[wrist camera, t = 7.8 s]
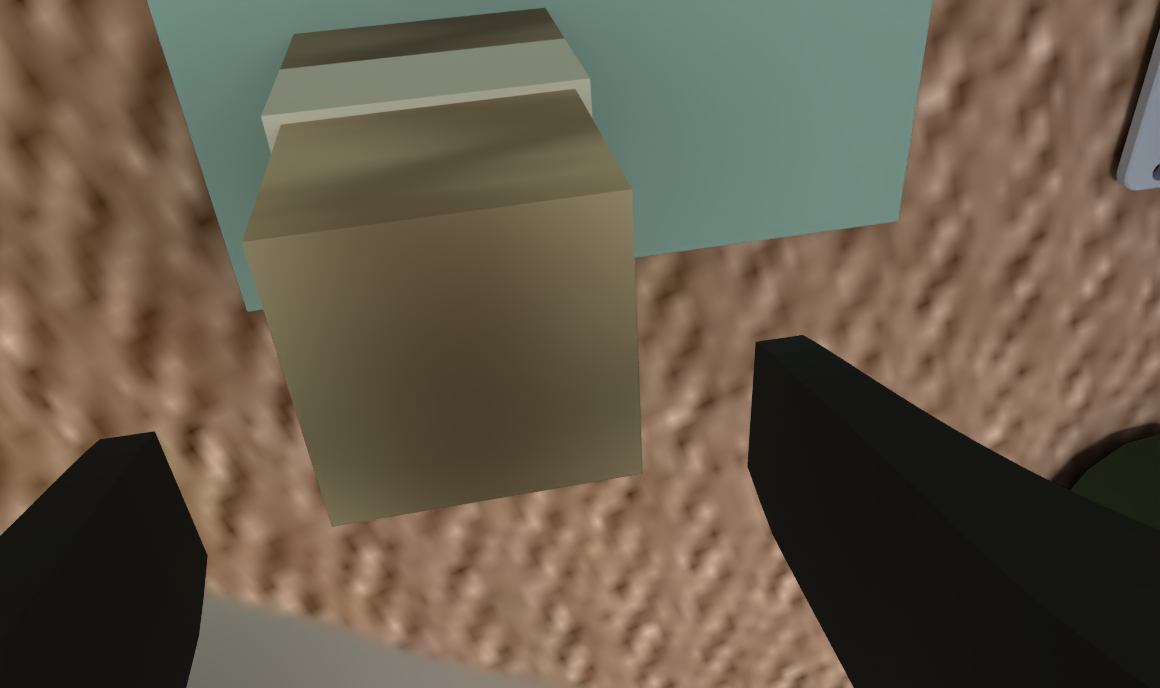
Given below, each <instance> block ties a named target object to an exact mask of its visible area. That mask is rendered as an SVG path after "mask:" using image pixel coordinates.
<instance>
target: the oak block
mask: <svg viewBox="0 0 1160 688" xmlns="http://www.w3.org/2000/svg"><path fill="white" fill-rule="evenodd" d="M242 244H243V247H244V251H245V254H246V257H247V260H248V263H249V266H250V269H251V273H252V276H253V279H254V282H255V285H256V288H257V292H258V295H259V298H260V301H261V304H262V307H263V310H264V314H265V317H266V320H267V323H268V326H269V329H270V333H271V336H272V339H273V342H274V345H275V348H276V351H277V355H278V358H279V361H280V364H281V367H282V370H283V374H284V377H285V380H286V383H287V386H288V389H289V392H290V396H291V399H292V402H293V405H294V408H295V411H296V415H297V418H298V421H299V424H300V427H301V430H302V434H303V437H304V440H305V443H306V446H307V449H308V452H309V456H310V459H311V462H312V465H313V468H314V471H315V475H316V478H317V481H318V484H319V487H320V490H321V493H322V497H323V500H324V503H325V506H326V509H327V512H328V516H329V519H330V522H331V525H332V527H334V526H339V525H345V524H351V523H357V522H363V521H369V520H374V519H380V518H386V517H392V516H398V515H404V514H409V513H415V512H421V511H427V510H433V509H439V508H444V507H450V506H456V505H462V504H468V503H474V502H479V501H485V500H491V499H497V498H503V497H509V496H514V495H520V494H526V493H532V492H538V491H544V490H549V489H555V488H561V487H567V486H573V485H579V484H584V483H590V482H596V481H602V480H608V479H614V478H619V477H625V476H631V475H637V474H643V471H642V443H641V415H640V387H639V359H638V331H637V303H636V275H635V246H634V218H633V190H632V188H631V186H630V184H629V182H628V181H627V179H626V177H625V175H624V173H623V172H622V170H621V168H620V166H619V165H618V163H617V161H616V159H615V158H614V156H613V154H612V152H611V151H610V149H609V147H608V145H607V144H606V142H605V140H604V138H603V137H602V135H601V133H600V131H599V129H598V128H597V126H596V124H595V122H594V121H593V119H592V117H591V115H590V114H589V112H588V110H587V108H586V107H585V105H584V103H583V101H582V100H581V98H580V96H579V94H578V92H577V91H576V89H568V90H560V91H552V92H544V93H536V94H527V95H519V96H511V97H503V98H494V99H486V100H478V101H470V102H461V103H453V104H445V105H437V106H429V107H420V108H412V109H404V110H396V111H387V112H379V113H371V114H363V115H355V116H346V117H338V118H330V119H322V120H313V121H305V122H297V123H289V124H281V126H280V129H279V132H278V135H277V138H276V141H275V144H274V147H273V150H272V153H271V156H270V159H269V162H268V165H267V168H266V171H265V174H264V177H263V180H262V183H261V186H260V189H259V192H258V195H257V198H256V201H255V204H254V207H253V210H252V213H251V216H250V219H249V222H248V225H247V228H246V231H245V234H244V237H243V240H242Z"/></svg>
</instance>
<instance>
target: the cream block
mask: <svg viewBox="0 0 1160 688" xmlns="http://www.w3.org/2000/svg"><path fill="white" fill-rule="evenodd" d="M568 89H576V91H577V92H578V94H579V96H580V98H581V100H582V101H583V103H584V105H585V107H586V108H587V110H588V112H589V114H590V115H591V117H592V102H591V84H590V77H589V76H588V74H587V73H586V71H585V69H584V68H583V66H582V65H581V63H580V62H579V60H578V58H577V57H576V55H575V54H574V52H573V51H572V49H571V47H570V46H569V44H568V43H567V41H566V40H565V38H563V39H554V40H545V41H536V42H527V43H517V44H508V45H499V46H490V47H481V48H472V49H463V50H454V51H444V52H435V53H426V54H417V55H408V56H399V57H390V58H380V59H371V60H362V61H353V62H344V63H335V64H326V65H317V66H307V67H298V68H289V69H280V70H279V73H278V75H277V78H276V80H275V83H274V85H273V88H272V90H271V93H270V95H269V98H268V100H267V102H266V105H265V107H264V110H263V112H262V115H261V118H262V122H263V126H264V129H265V133H266V137H267V140H268V144H269V148H270V151H271V153H272V150H273V147H274V144H275V141H276V138H277V135H278V132H279V129H280V126H281V124H289V123H297V122H305V121H313V120H322V119H330V118H338V117H346V116H355V115H363V114H371V113H379V112H387V111H396V110H404V109H412V108H420V107H429V106H437V105H445V104H453V103H461V102H470V101H478V100H486V99H494V98H503V97H511V96H519V95H527V94H536V93H544V92H552V91H560V90H568Z"/></svg>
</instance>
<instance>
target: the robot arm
mask: <svg viewBox="0 0 1160 688" xmlns="http://www.w3.org/2000/svg"><path fill="white" fill-rule="evenodd" d="M1159 164H1160V30H1159V33H1158V37H1157V40H1156V43H1155V47H1154V50H1153V53H1152V57H1151V60H1150V63H1149V67H1148V70H1147V73H1146V76H1145V80H1144V83H1143V86H1142V90H1141V93H1140V96H1139V100H1138V103H1137V106H1136V110H1135V113H1134V116H1133V120H1132V123H1131V126H1130V130H1129V133H1128V136H1127V140H1126V143H1125V146H1124V150H1123V153H1122V156H1121V160H1120V163H1119V166H1118V170H1117V180H1118V183H1120V184H1121V185H1123V186H1124V187H1126V188H1128V189H1130V190H1134V191H1139V190H1146V189H1153V188H1160V166H1159V167H1158V169H1157V170H1156V171H1155V172H1154V173H1153V171H1154V169H1155V167H1156V166H1157V165H1159ZM748 469H749V472H750V475H751V477H752V480H753V483H754V486H755V489H756V491H757V494H758V497H759V500H760V503H761V505H762V508H763V511H764V513H765V516H766V518H767V521H768V523H769V526H770V529H771V531H772V534H773V536H774V538H775V540H776V542H777V544H778V546H779V548H780V550H781V552H782V553H783V555H784V557H785V559H786V561H787V563H788V565H789V567H790V569H791V571H792V573H793V574H794V576H795V578H796V580H797V582H798V584H799V586H800V588H801V590H802V592H803V593H804V595H805V597H806V599H807V601H808V603H809V605H810V606H811V608H812V610H813V612H814V614H815V616H816V618H817V620H818V621H819V623H820V625H821V627H822V629H823V631H824V633H825V634H826V636H827V638H828V640H829V642H830V644H831V646H832V648H833V649H834V651H835V653H836V655H837V657H838V659H839V661H840V663H841V664H842V666H843V668H844V670H845V672H846V674H847V676H848V678H849V679H850V681H851V683H852V685H853V687H854V688H1160V530H1158V529H1156V528H1153V527H1151V526H1149V525H1146V524H1144V523H1141V522H1139V521H1137V520H1134V519H1132V518H1129V517H1127V516H1125V515H1122V514H1120V513H1118V512H1116V511H1113V510H1111V509H1109V508H1107V507H1105V506H1103V505H1100V504H1098V503H1096V502H1094V501H1092V500H1090V499H1087V498H1085V497H1083V496H1081V495H1079V494H1077V493H1074V492H1072V491H1070V490H1068V489H1066V488H1064V487H1061V486H1059V485H1057V484H1055V483H1053V482H1051V481H1049V480H1047V479H1045V478H1043V477H1041V476H1039V475H1037V474H1035V473H1033V472H1031V471H1029V470H1027V469H1025V468H1023V467H1021V466H1020V465H1018V464H1016V463H1014V462H1012V461H1010V460H1009V459H1007V458H1005V457H1003V456H1001V455H999V454H998V453H996V452H994V451H992V450H990V449H988V448H987V447H985V446H983V445H981V444H979V443H977V442H976V441H974V440H972V439H970V438H969V437H967V436H965V435H963V434H962V433H960V432H958V431H957V430H955V429H953V428H951V427H950V426H948V425H946V424H945V423H943V422H941V421H940V420H938V419H936V418H935V417H933V416H931V415H930V414H928V413H926V412H925V411H923V410H921V409H920V408H918V407H917V406H915V405H913V404H912V403H910V402H908V401H907V400H905V399H904V398H902V397H900V396H899V395H897V394H896V393H894V392H893V391H891V390H889V389H888V388H886V387H885V386H883V385H882V384H880V383H878V382H877V381H875V380H874V379H872V378H871V377H869V376H868V375H866V374H864V373H863V372H861V371H860V370H858V369H857V368H855V367H854V366H852V365H851V364H849V363H847V362H846V361H844V360H843V359H841V358H840V357H838V356H837V355H835V354H833V353H832V352H830V351H829V350H827V349H825V348H824V347H822V346H821V345H819V344H817V343H816V342H814V341H812V340H811V339H809V338H807V337H805V336H804V335H799V336H793V337H786V338H779V339H773V340H766V341H759V342H756V346H755V361H754V376H753V391H752V406H751V421H750V436H749V451H748ZM207 556H208V555H207V553H206V551H205V548H204V546H203V544H202V541H201V539H200V537H199V534H198V532H197V530H196V527H195V525H194V523H193V520H192V518H191V515H190V513H189V511H188V508H187V506H186V504H185V501H184V499H183V497H182V494H181V492H180V490H179V487H178V485H177V483H176V480H175V478H174V475H173V473H172V471H171V468H170V466H169V464H168V461H167V459H166V457H165V454H164V452H163V450H162V447H161V445H160V443H159V440H158V438H157V435H156V433H155V431H154V432H147V433H140V434H134V435H127V436H120V437H114V438H107V439H100V440H99V441H98V442H96V443H95V444H94V445H93V446H92V447H91V448H90V449H88V450H87V451H86V452H85V453H84V454H83V455H82V456H81V457H80V458H79V459H78V460H77V461H76V462H75V463H74V464H72V465H71V466H70V467H69V468H68V469H67V470H66V471H65V472H64V473H63V474H62V475H61V476H60V477H59V478H58V479H57V480H56V481H55V482H54V483H53V484H52V485H51V486H50V487H49V488H48V489H47V490H46V491H45V492H44V493H43V494H42V495H41V496H40V497H39V498H38V499H37V500H36V501H35V502H34V503H33V504H32V505H31V506H30V507H29V508H28V509H27V510H26V511H25V512H24V513H23V514H22V515H21V516H20V517H19V518H18V519H17V520H16V521H15V522H14V523H13V524H12V525H11V526H10V527H9V528H8V529H7V530H6V531H5V532H4V533H3V534H2V535H1V536H0V688H186V686H187V682H188V678H189V674H190V670H191V666H192V662H193V658H194V654H195V650H196V646H197V641H198V637H199V630H200V623H201V615H202V607H203V598H204V588H205V577H206V567H207Z"/></svg>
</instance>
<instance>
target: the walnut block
mask: <svg viewBox="0 0 1160 688" xmlns="http://www.w3.org/2000/svg"><path fill="white" fill-rule="evenodd" d="M563 38H564V36H563V35H562V33H561V32H560V30H559V29H558V27H557V25H556V24H555V22H554V21H553V19H552V18H551V16H550V14H549V13H548V11H547V10H546V8H537V9H527V10H518V11H508V12H499V13H489V14H480V15H470V16H461V17H451V18H442V19H432V20H423V21H413V22H404V23H394V24H385V25H375V26H366V27H356V28H347V29H337V30H328V31H318V32H309V33H299V34H294V35H293V38H292V40H291V43H290V45H289V48H288V50H287V53H286V55H285V58H284V60H283V63H282V65H281V68H280V69H289V68H298V67H307V66H317V65H326V64H335V63H344V62H353V61H362V60H371V59H380V58H390V57H399V56H408V55H417V54H426V53H435V52H444V51H454V50H463V49H472V48H481V47H490V46H499V45H508V44H517V43H527V42H536V41H545V40H554V39H563Z"/></svg>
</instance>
